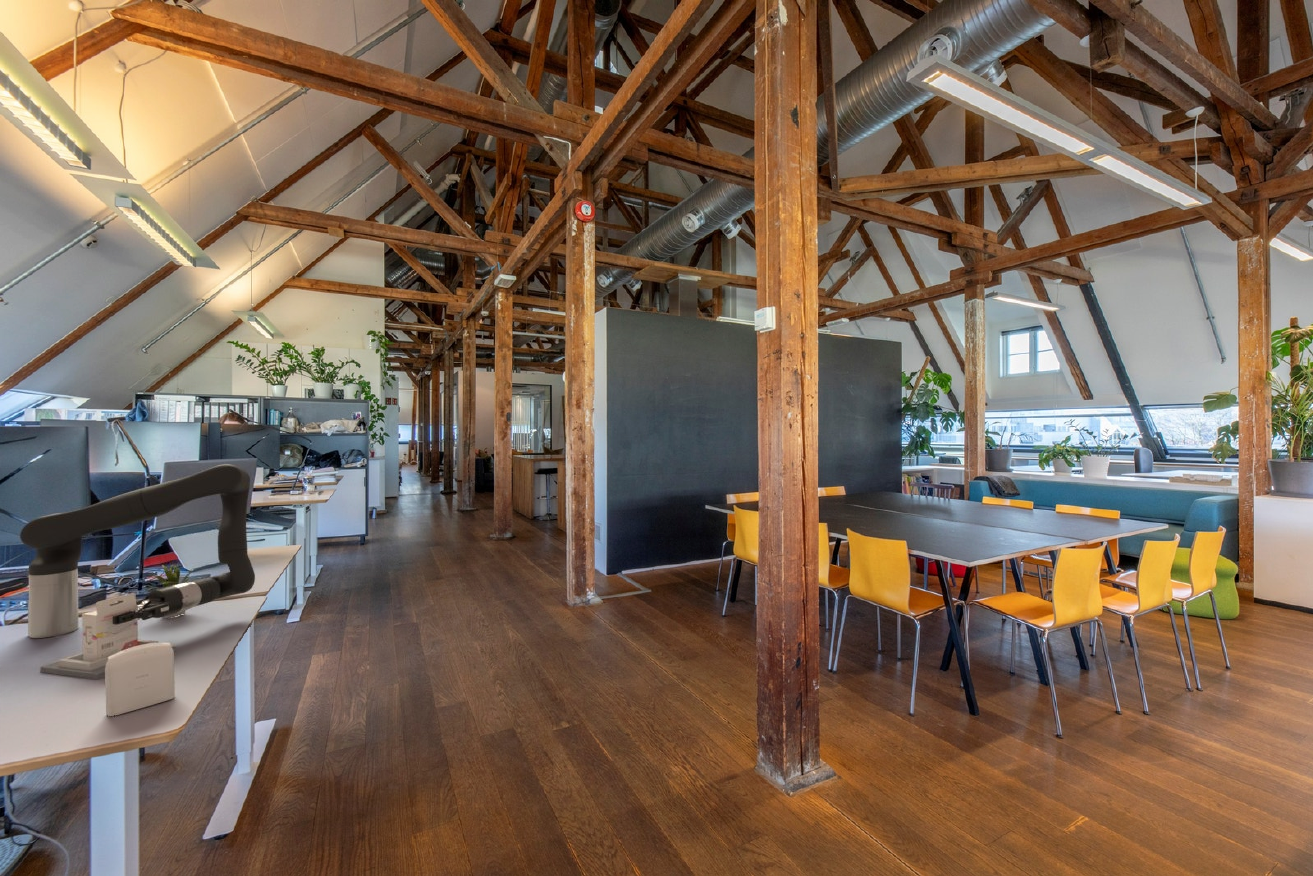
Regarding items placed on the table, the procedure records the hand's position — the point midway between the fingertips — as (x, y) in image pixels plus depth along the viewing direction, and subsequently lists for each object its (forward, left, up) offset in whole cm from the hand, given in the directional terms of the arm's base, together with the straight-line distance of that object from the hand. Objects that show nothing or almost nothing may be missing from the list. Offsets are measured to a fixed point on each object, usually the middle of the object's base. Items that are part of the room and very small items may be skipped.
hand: (100, 619), depth 130 cm
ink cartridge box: (0, +2, -10) cm, 10 cm away
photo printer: (+33, -13, -11) cm, 37 cm away
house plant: (-23, +31, -11) cm, 40 cm away
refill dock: (0, +2, -11) cm, 11 cm away
